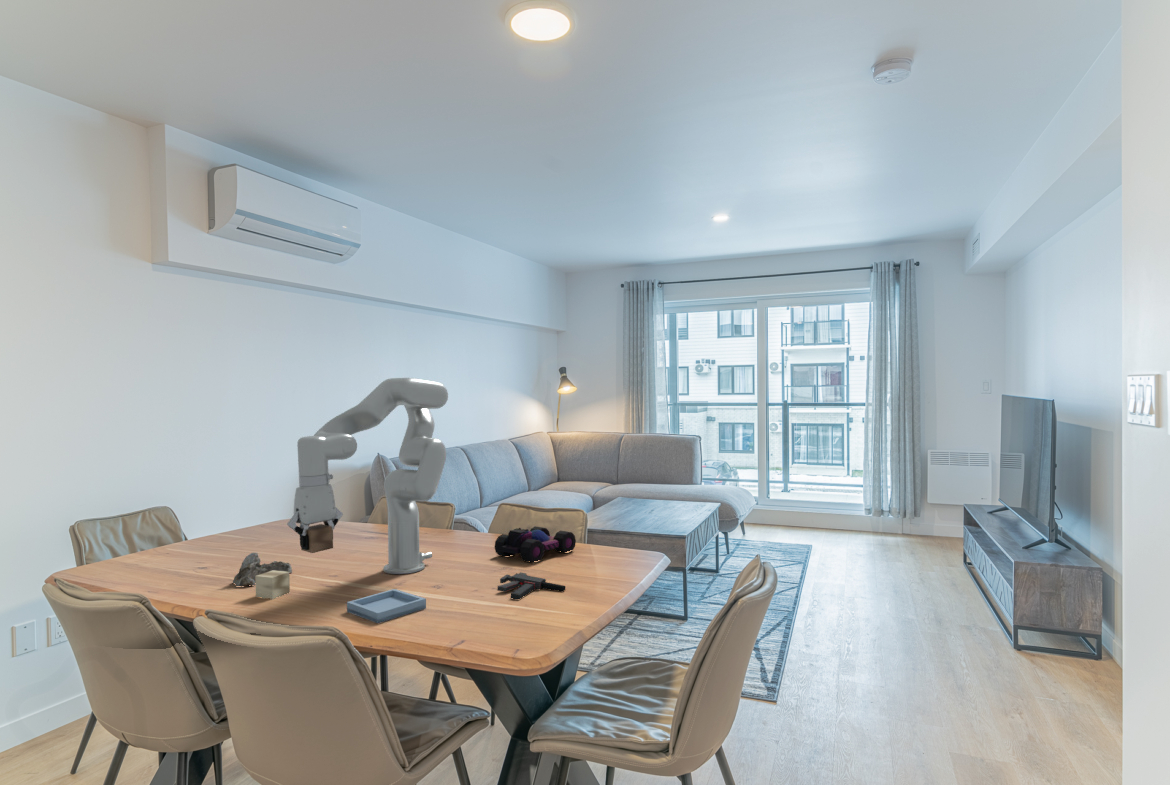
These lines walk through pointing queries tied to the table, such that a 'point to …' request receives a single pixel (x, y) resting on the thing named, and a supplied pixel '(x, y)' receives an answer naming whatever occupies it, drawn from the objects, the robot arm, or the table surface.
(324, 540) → the walnut cube
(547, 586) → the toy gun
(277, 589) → the oak cube
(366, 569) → the table surface
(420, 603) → the tray
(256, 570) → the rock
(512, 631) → the table surface
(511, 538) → the toy car
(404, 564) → the robot arm
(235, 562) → the table surface
